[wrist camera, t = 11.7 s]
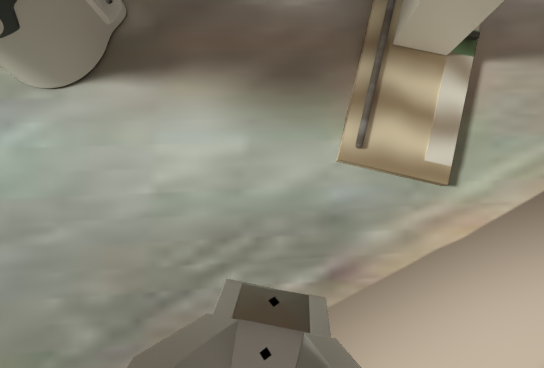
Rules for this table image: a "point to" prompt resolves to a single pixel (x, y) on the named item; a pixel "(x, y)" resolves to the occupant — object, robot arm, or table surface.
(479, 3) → the block
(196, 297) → the table surface
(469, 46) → the board
